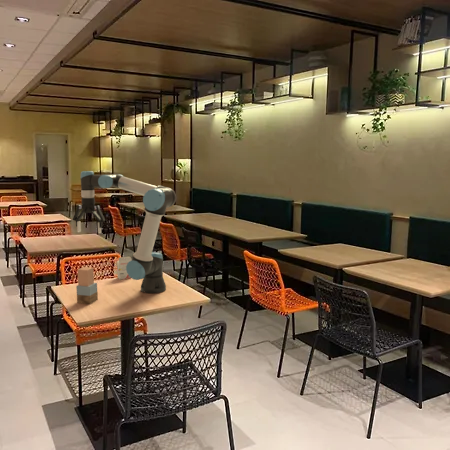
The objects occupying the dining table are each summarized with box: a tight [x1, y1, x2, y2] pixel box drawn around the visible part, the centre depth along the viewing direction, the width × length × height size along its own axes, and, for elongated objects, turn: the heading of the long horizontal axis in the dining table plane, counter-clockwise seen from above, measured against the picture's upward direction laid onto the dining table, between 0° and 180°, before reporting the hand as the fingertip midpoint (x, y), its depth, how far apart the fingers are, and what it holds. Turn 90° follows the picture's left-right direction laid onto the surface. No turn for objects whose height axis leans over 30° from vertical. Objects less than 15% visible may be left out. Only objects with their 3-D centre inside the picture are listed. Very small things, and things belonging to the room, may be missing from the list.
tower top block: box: [76, 282, 98, 296], centre depth 248 cm, size 8×8×5 cm
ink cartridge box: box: [116, 256, 132, 280], centre depth 298 cm, size 9×5×15 cm, turn 118°
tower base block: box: [76, 291, 99, 305], centre depth 249 cm, size 8×8×5 cm
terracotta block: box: [77, 266, 95, 286], centre depth 247 cm, size 6×6×9 cm
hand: (89, 232), depth 268 cm, fingers open, 13 cm apart
